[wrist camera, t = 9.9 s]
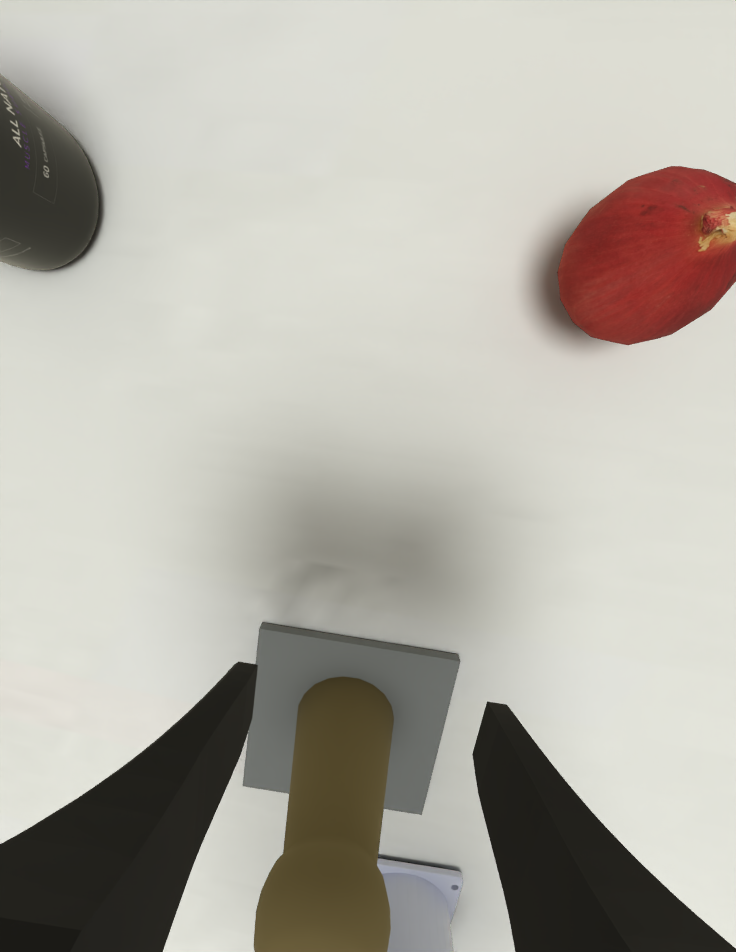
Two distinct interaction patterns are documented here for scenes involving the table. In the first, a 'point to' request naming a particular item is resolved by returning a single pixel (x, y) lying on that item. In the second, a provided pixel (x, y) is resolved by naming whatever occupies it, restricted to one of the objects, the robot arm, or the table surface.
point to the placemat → (329, 655)
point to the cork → (332, 827)
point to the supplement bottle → (41, 187)
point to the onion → (651, 256)
